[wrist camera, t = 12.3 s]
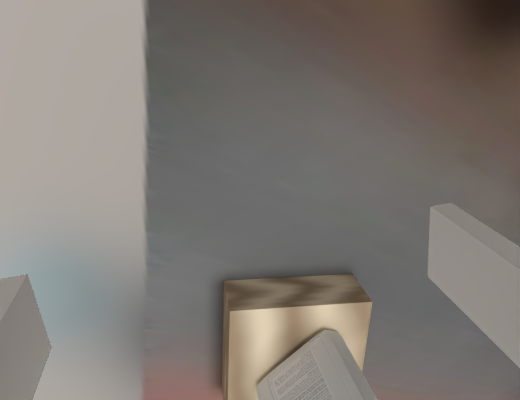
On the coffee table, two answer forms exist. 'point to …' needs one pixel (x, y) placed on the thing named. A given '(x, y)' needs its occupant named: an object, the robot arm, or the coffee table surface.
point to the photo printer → (317, 373)
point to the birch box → (286, 324)
